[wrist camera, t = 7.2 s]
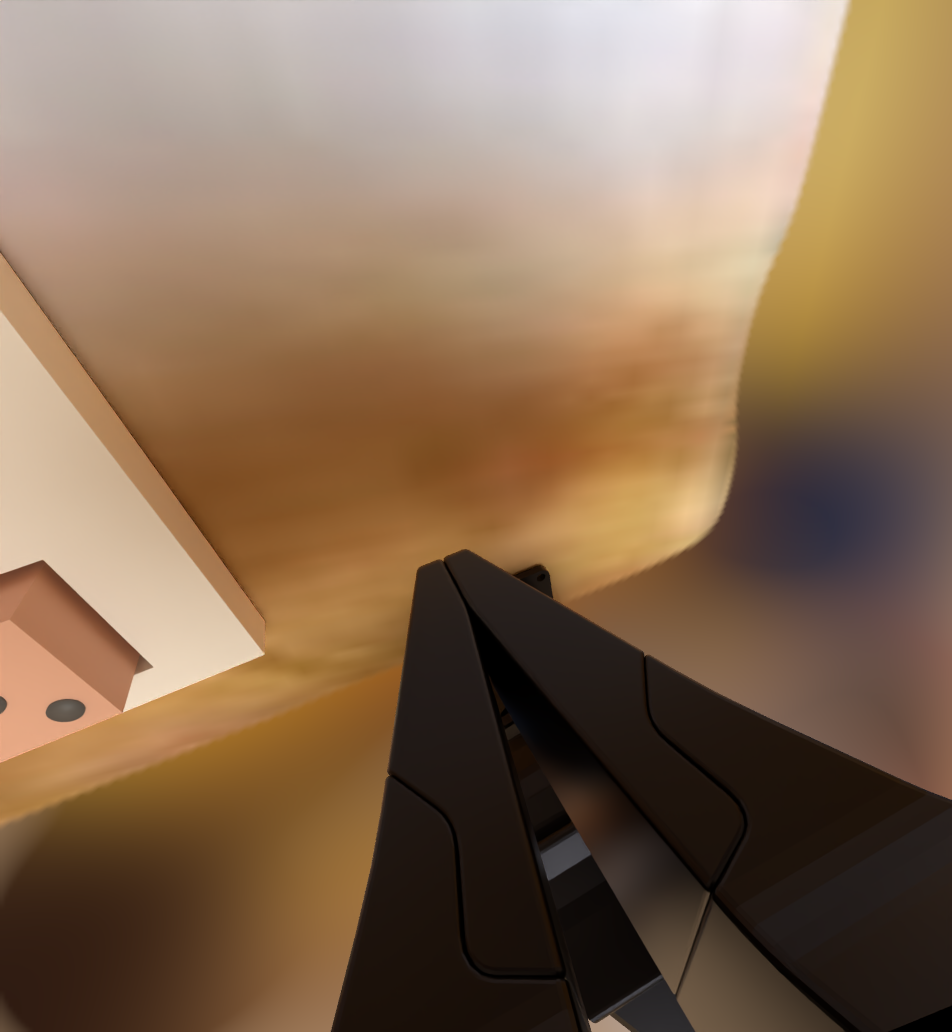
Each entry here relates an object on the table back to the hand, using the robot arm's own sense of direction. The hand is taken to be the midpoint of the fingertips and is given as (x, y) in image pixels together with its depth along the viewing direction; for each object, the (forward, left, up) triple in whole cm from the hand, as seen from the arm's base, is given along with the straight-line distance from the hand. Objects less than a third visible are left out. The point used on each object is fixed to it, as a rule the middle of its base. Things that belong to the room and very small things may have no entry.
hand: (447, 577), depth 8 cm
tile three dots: (-5, +14, -12) cm, 19 cm away
